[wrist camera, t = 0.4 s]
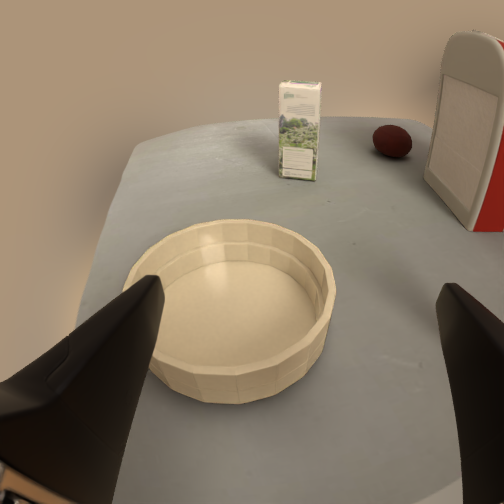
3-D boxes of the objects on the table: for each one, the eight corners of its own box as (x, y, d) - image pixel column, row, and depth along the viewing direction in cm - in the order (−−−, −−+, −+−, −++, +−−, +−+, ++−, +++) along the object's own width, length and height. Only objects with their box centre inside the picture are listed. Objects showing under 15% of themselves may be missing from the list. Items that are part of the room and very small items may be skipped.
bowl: (336, 405, 20) (351, 373, 17) (119, 395, 21) (93, 361, 18) (316, 259, 33) (320, 218, 30) (163, 259, 34) (153, 220, 31)
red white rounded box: (420, 176, 49) (440, 24, 32) (490, 182, 48) (515, 53, 31) (468, 232, 36) (511, 36, 19) (539, 232, 36) (581, 78, 18)
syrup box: (318, 166, 51) (322, 81, 42) (315, 182, 46) (320, 87, 37) (283, 163, 52) (284, 78, 43) (277, 178, 48) (277, 84, 38)
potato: (365, 146, 59) (368, 118, 55) (401, 149, 59) (405, 122, 55) (376, 160, 53) (380, 129, 49) (415, 163, 53) (420, 134, 49)
